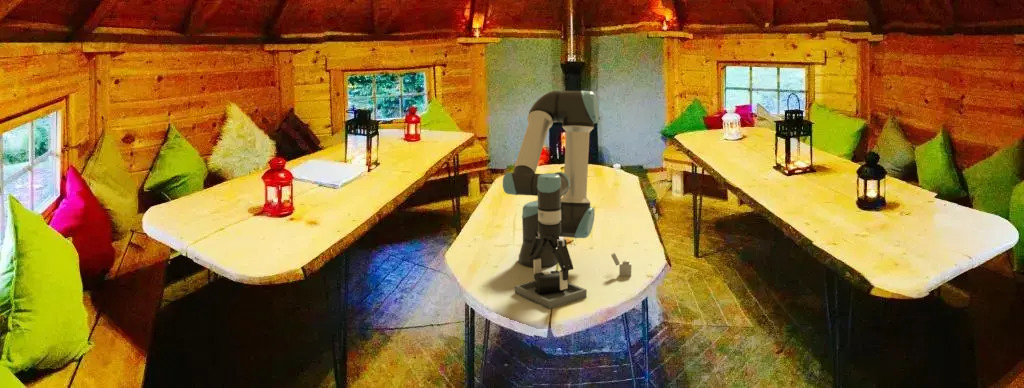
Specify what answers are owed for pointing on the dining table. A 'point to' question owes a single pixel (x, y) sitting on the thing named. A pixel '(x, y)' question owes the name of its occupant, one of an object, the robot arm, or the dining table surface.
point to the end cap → (547, 283)
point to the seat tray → (550, 295)
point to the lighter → (622, 266)
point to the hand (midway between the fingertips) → (550, 283)
